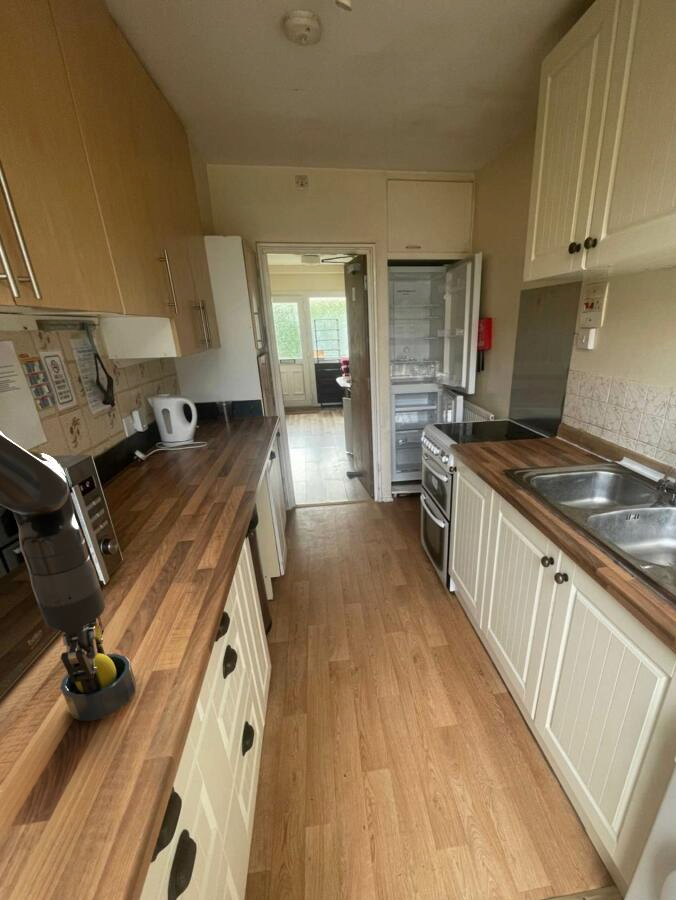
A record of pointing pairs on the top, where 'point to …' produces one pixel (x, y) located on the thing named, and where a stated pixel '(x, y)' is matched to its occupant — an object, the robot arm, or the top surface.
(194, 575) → the top surface
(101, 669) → the lemon
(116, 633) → the top surface
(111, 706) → the bowl
